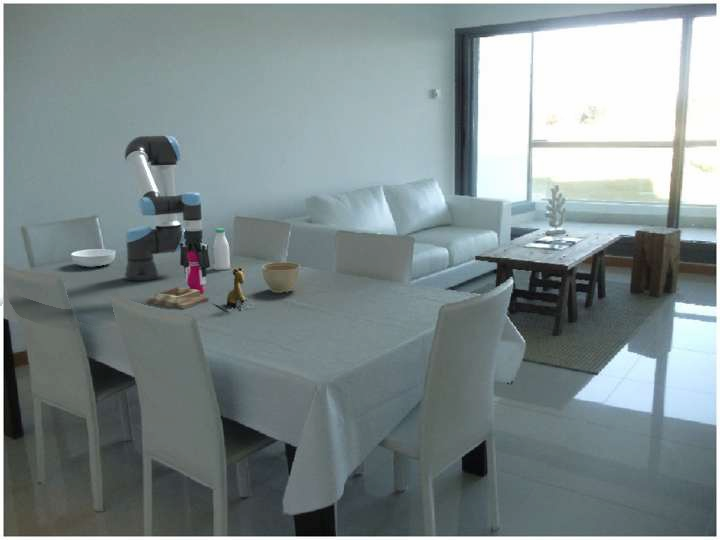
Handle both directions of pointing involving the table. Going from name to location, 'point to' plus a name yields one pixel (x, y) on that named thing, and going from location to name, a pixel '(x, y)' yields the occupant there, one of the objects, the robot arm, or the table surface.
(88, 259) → the serving bowl
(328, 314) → the table surface
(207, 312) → the table surface
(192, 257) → the pepper mill
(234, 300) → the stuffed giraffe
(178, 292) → the holder board
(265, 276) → the planter bowl
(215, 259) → the milk bottle
